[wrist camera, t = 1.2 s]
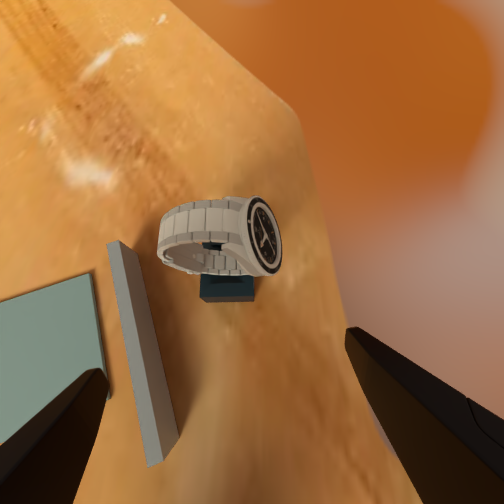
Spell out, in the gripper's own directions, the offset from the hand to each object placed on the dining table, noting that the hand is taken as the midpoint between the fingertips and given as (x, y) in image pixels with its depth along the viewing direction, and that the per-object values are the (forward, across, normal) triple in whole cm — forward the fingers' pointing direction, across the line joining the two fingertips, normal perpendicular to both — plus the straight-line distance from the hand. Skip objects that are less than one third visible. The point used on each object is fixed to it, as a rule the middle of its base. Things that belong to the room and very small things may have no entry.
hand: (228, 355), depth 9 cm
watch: (+14, 0, +4) cm, 14 cm away
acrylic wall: (+10, +8, +8) cm, 15 cm away
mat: (+10, +17, +8) cm, 21 cm away
